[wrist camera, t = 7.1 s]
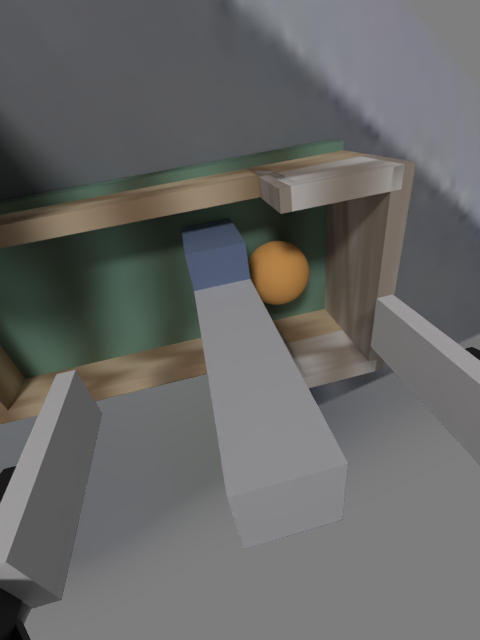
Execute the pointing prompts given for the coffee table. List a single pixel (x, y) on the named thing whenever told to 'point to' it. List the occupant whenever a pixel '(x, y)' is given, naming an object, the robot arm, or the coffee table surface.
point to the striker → (259, 400)
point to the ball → (278, 272)
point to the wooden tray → (173, 274)
